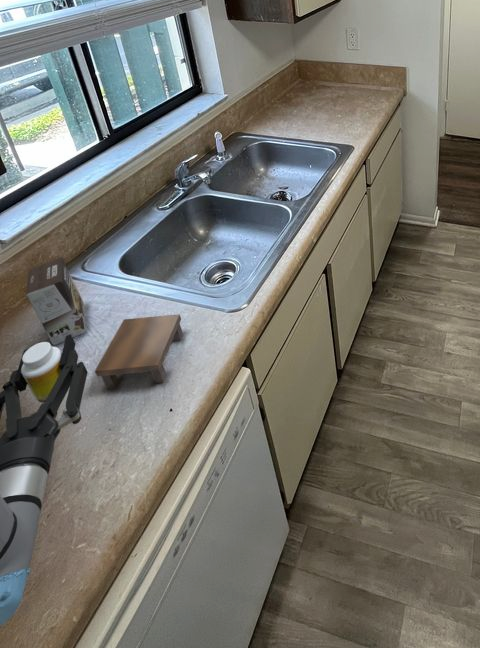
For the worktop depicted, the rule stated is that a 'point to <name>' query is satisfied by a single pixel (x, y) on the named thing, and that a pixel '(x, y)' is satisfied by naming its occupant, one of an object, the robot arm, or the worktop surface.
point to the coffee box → (56, 300)
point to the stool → (140, 348)
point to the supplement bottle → (41, 369)
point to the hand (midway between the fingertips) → (50, 347)
